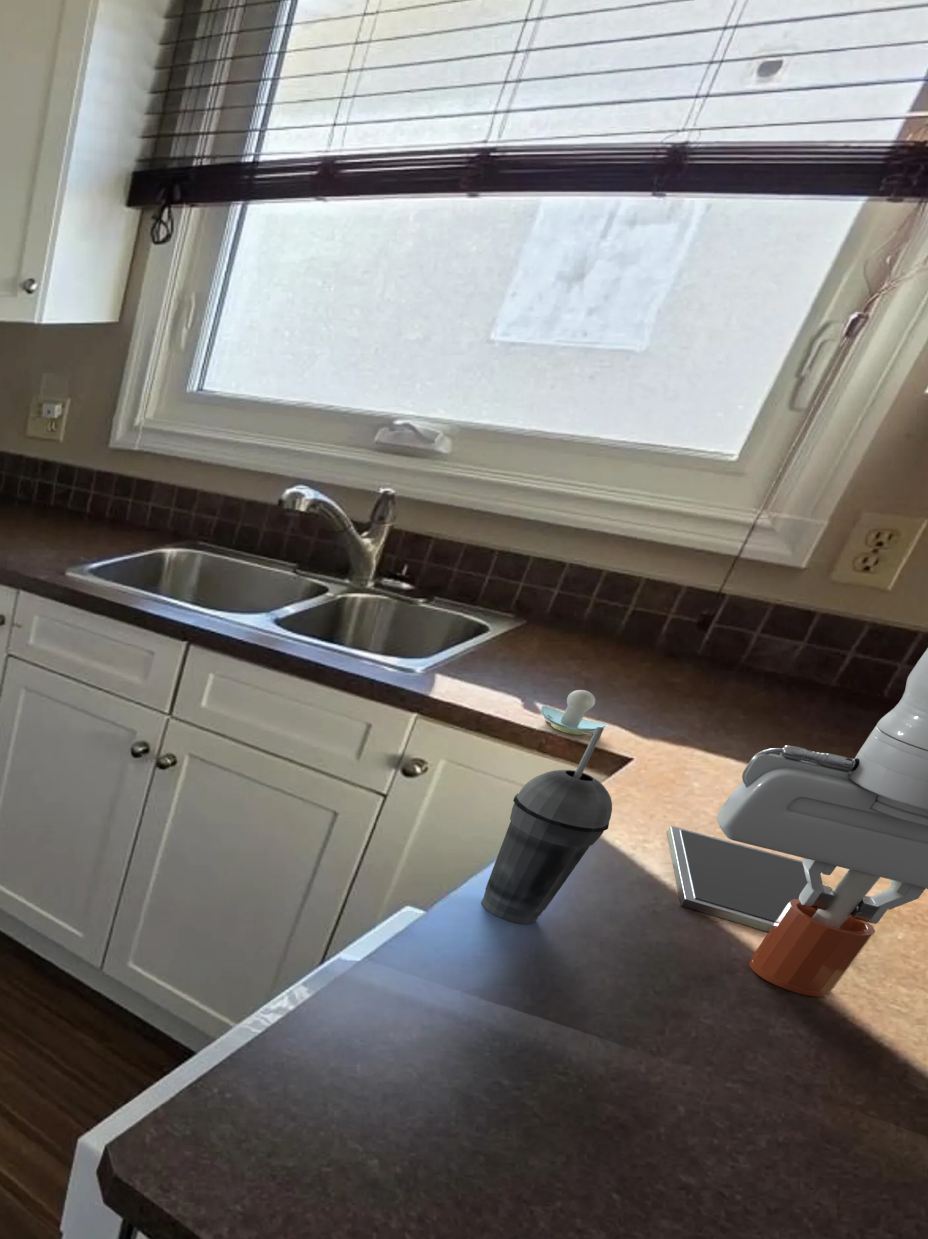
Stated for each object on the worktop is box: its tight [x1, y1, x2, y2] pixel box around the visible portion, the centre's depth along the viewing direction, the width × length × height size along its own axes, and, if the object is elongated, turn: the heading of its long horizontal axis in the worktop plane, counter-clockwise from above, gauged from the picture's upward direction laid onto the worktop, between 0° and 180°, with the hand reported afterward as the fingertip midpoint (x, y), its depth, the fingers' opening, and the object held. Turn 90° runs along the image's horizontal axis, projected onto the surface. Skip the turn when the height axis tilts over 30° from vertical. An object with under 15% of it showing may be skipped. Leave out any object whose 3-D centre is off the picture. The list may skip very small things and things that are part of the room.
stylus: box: [812, 869, 881, 928], centre depth 90 cm, size 2×2×14 cm
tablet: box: [666, 825, 808, 933], centre depth 108 cm, size 12×20×1 cm, turn 141°
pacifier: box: [540, 689, 607, 736], centre depth 143 cm, size 7×6×6 cm
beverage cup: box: [481, 727, 613, 925], centre depth 97 cm, size 7×7×20 cm
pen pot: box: [748, 899, 876, 998], centre depth 92 cm, size 5×5×7 cm
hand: (835, 911), depth 91 cm, fingers closed on stylus, 2 cm apart
